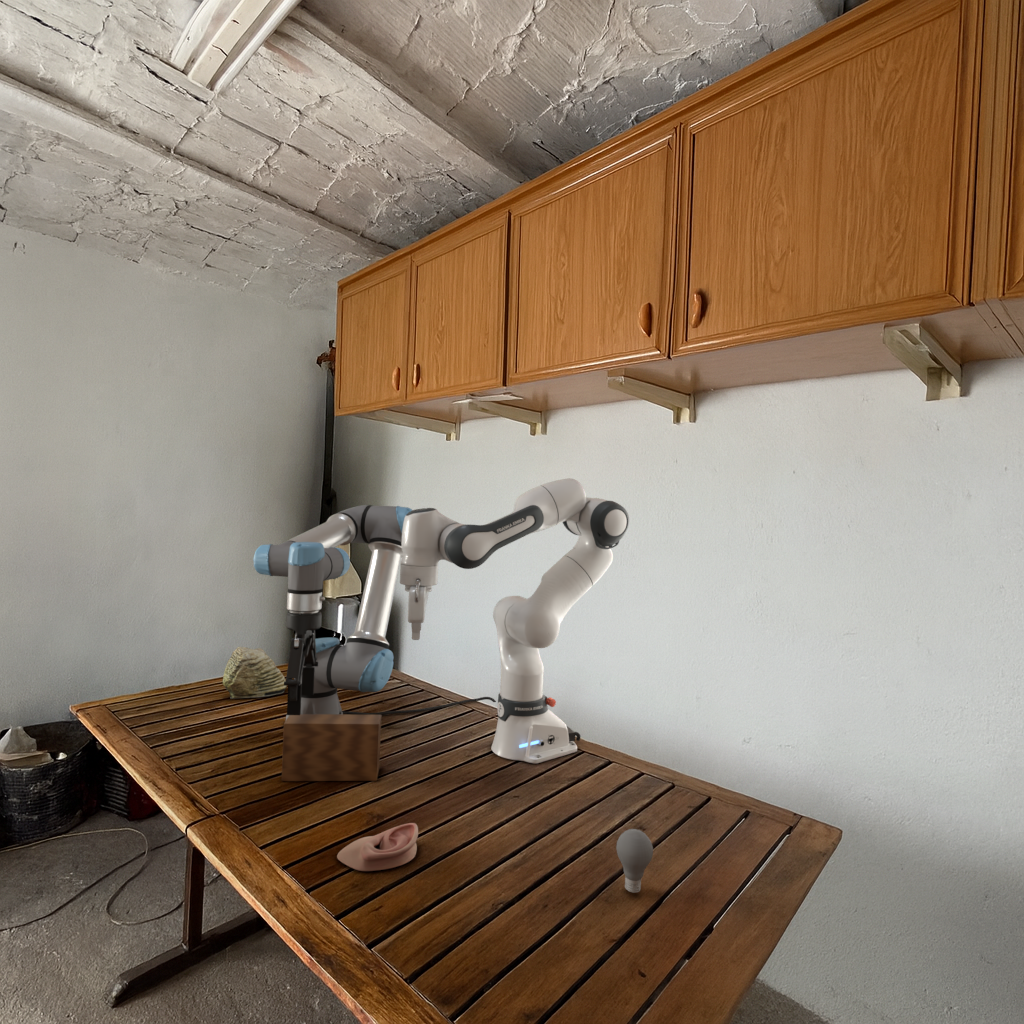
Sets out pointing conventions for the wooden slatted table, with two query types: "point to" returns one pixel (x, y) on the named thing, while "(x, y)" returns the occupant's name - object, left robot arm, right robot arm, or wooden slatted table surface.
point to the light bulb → (634, 857)
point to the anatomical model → (382, 849)
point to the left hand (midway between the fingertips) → (300, 704)
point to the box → (331, 747)
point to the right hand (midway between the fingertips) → (416, 634)
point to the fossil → (252, 674)
